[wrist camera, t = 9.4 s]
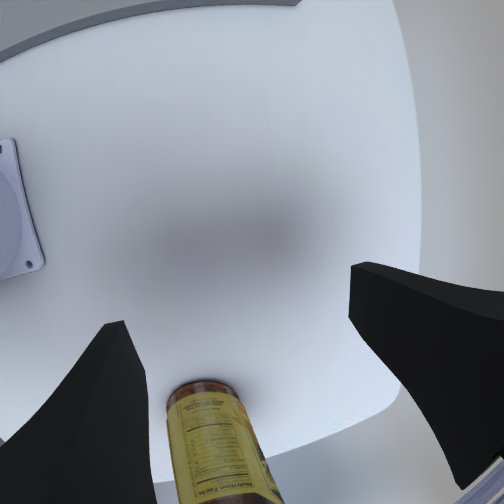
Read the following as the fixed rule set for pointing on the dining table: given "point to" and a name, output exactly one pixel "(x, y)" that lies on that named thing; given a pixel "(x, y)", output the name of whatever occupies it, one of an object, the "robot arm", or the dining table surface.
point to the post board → (80, 17)
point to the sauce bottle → (216, 449)
